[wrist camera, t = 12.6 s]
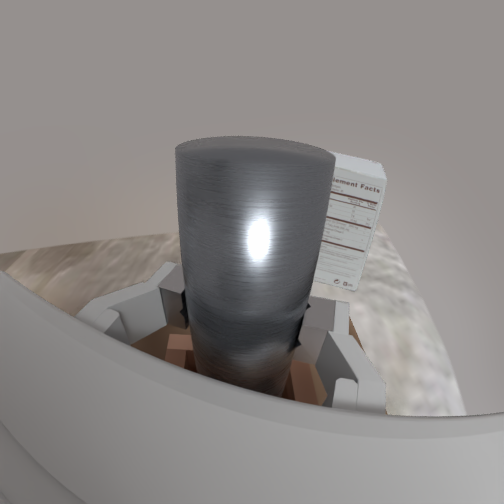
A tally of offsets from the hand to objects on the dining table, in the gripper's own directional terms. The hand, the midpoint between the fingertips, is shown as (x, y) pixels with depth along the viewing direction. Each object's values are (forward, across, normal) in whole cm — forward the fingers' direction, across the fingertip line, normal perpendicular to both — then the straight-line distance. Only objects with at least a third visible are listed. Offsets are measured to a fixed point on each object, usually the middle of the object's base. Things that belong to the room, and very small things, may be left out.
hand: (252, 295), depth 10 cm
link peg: (-1, 0, +6) cm, 7 cm away
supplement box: (+20, -4, +11) cm, 23 cm away
